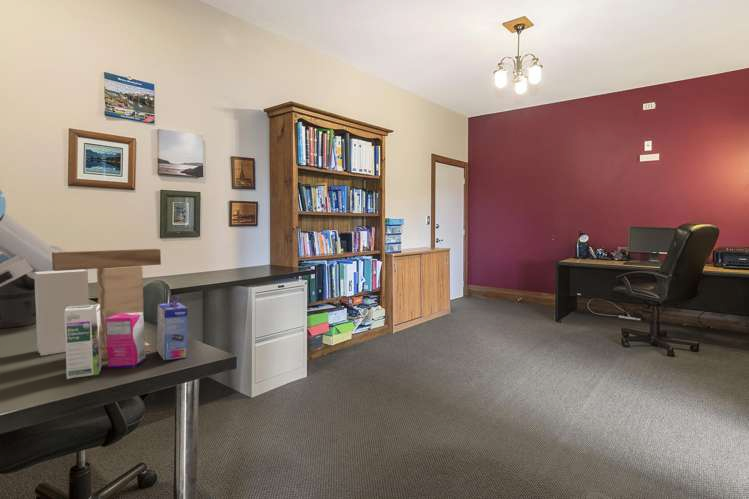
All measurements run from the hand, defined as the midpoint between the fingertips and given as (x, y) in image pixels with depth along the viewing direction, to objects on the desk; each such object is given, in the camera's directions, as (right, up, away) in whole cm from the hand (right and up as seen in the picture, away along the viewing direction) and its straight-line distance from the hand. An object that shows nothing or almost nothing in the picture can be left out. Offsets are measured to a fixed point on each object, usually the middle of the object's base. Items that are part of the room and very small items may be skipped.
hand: (25, 262), depth 89 cm
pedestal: (-3, -23, +15) cm, 28 cm away
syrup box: (+14, -24, -1) cm, 28 cm away
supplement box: (+20, -24, +4) cm, 31 cm away
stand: (+12, -23, +14) cm, 30 cm away
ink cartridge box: (+26, -23, +12) cm, 37 cm away
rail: (+11, -2, +12) cm, 16 cm away
